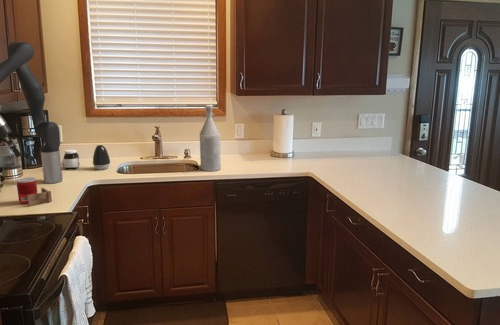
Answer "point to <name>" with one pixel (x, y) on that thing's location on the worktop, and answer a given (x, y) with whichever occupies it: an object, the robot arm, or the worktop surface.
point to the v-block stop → (39, 197)
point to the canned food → (26, 188)
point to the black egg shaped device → (101, 158)
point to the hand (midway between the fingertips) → (19, 156)
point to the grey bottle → (210, 143)
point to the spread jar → (70, 159)
